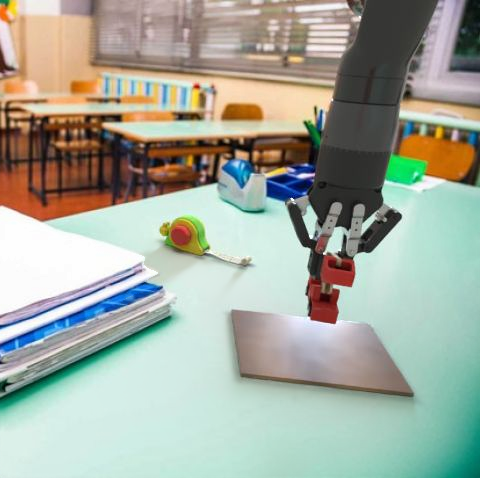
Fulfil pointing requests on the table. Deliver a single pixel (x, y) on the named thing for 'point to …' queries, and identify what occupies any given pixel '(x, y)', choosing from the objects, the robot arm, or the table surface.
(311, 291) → the toy fire truck
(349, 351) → the metal plate
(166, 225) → the toy measuring tape
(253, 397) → the table surface
